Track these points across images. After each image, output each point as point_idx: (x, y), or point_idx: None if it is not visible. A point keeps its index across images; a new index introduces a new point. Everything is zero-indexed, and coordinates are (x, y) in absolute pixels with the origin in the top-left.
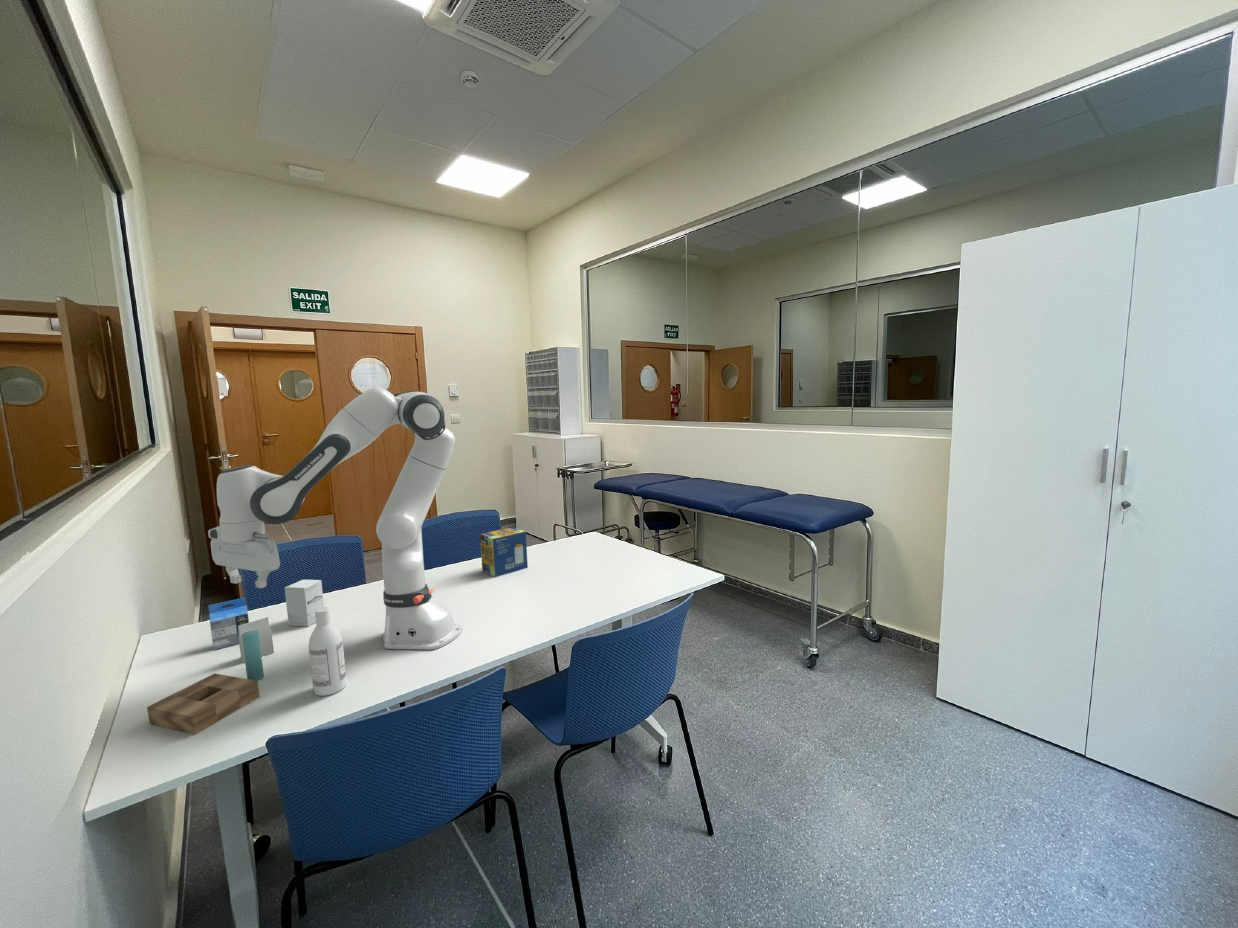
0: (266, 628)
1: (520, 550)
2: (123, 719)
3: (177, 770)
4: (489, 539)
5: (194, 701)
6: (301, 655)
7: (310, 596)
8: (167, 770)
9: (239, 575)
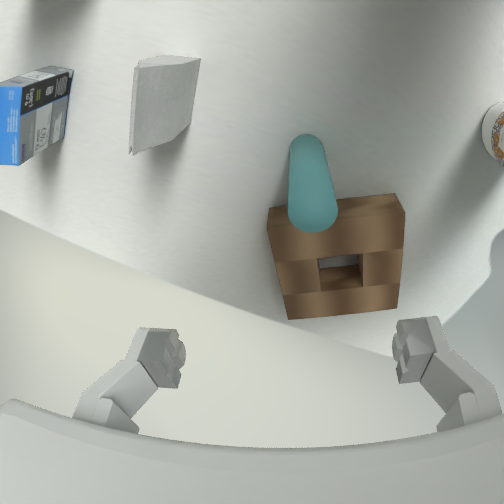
0: (164, 75)
1: None
2: (233, 303)
3: None
4: None
5: (352, 290)
6: (294, 30)
7: None
8: None
9: (159, 366)
